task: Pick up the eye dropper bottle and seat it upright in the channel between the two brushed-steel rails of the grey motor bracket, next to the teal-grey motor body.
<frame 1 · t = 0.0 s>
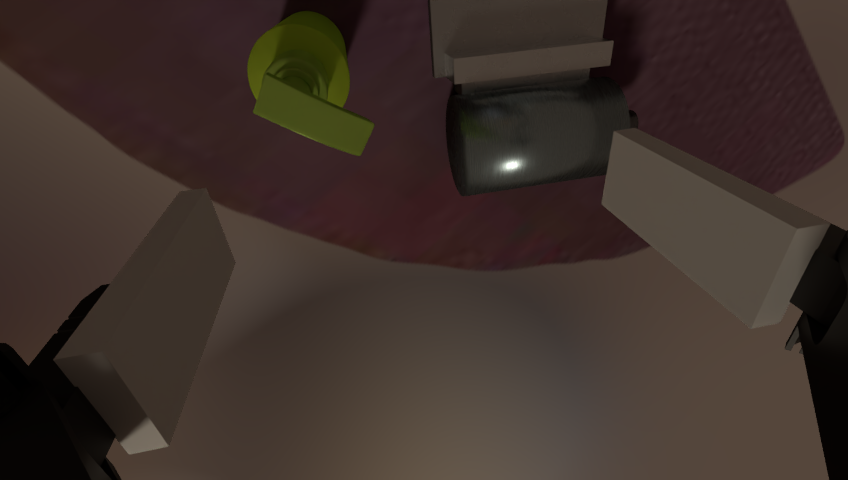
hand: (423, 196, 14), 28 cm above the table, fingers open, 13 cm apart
soap dispenser: (317, 52, 36), on the table
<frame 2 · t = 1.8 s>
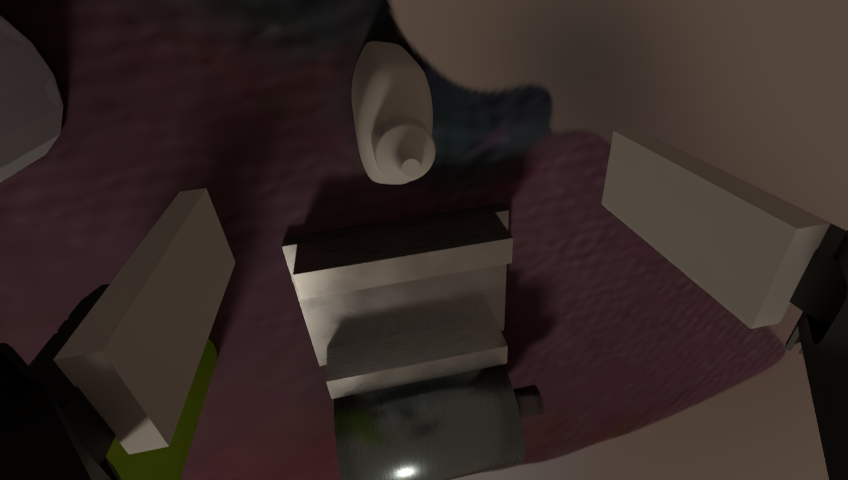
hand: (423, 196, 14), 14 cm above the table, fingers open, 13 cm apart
motor bracket: (405, 285, 33), on the table
soap dispenser: (184, 353, 33), on the table
eye dropper bottle: (380, 91, 25), on the table
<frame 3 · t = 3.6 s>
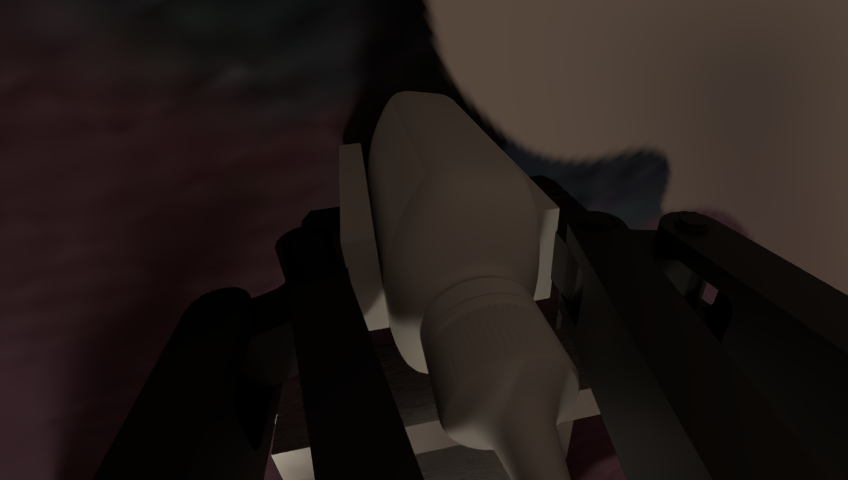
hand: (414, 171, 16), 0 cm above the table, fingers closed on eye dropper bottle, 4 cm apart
motor bracket: (436, 413, 24), on the table
eye dropper bottle: (412, 164, 16), on the table, touching gripper
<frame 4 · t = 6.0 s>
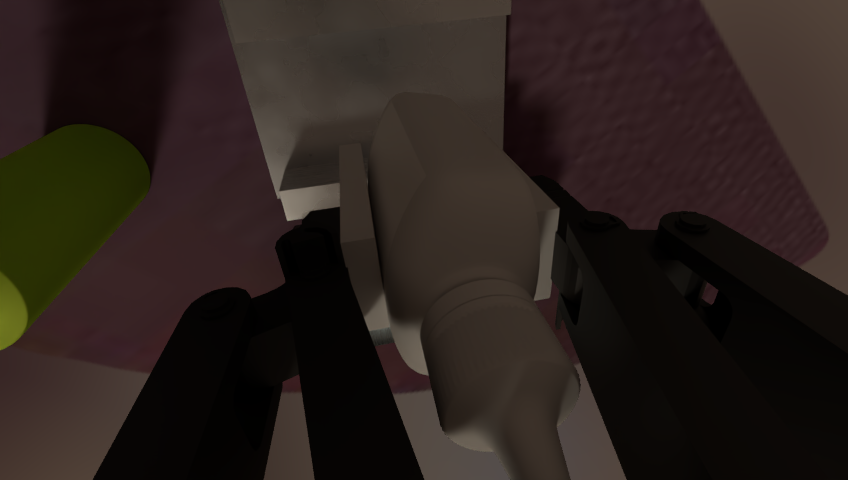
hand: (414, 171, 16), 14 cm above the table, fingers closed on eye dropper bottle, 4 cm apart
motor bracket: (380, 90, 27), on the table
soap dispenser: (109, 171, 27), on the table
eye dropper bottle: (412, 164, 16), point 13 cm above the table, touching gripper
when the fingers open (3 cm above the table, at t = 8.5 s): eye dropper bottle drops 1 cm, resting on motor bracket.
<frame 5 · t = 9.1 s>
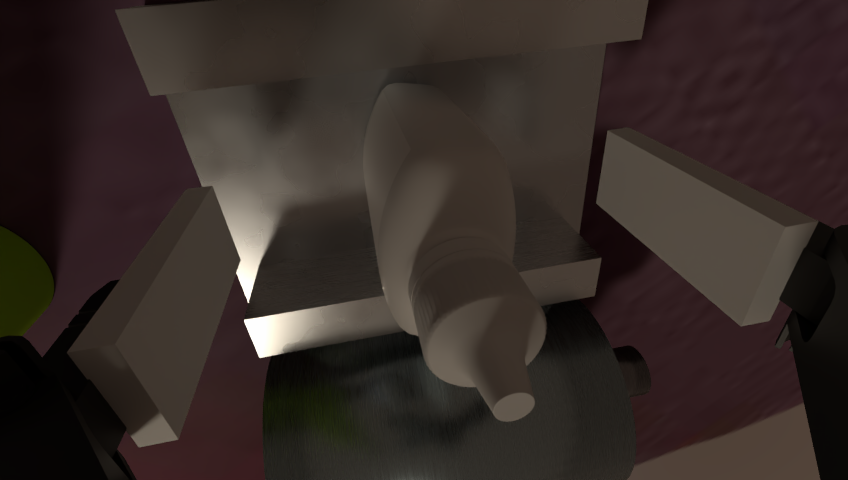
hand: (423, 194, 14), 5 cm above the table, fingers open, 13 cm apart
motor bracket: (404, 148, 18), on the table
eye dropper bottle: (404, 152, 17), point 1 cm above the table, touching motor bracket
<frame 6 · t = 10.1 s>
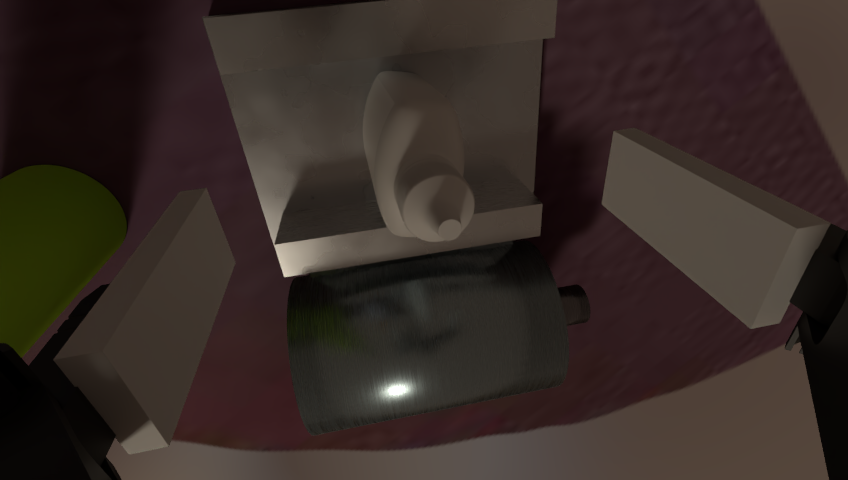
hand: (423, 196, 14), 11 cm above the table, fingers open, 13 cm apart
motor bracket: (394, 123, 23), on the table
soap dispenser: (78, 217, 23), on the table
eye dropper bottle: (394, 125, 22), point 1 cm above the table, touching motor bracket
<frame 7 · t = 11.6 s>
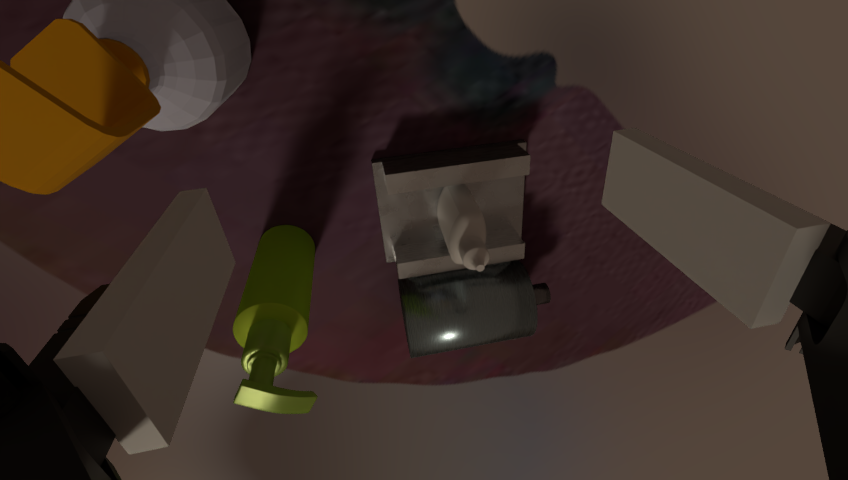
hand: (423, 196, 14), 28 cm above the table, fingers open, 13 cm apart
motor bracket: (451, 201, 46), on the table
soap dispenser: (292, 248, 46), on the table
soap bottle: (194, 42, 35), on the table
eye dropper bottle: (452, 204, 45), point 1 cm above the table, touching motor bracket
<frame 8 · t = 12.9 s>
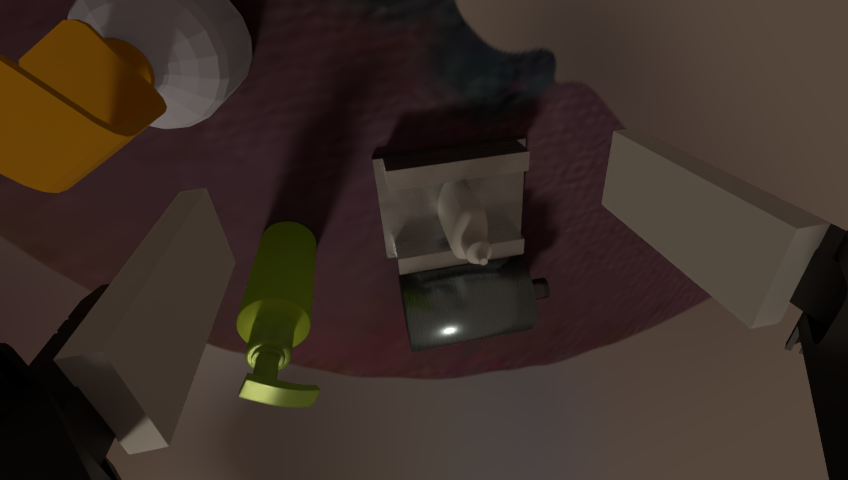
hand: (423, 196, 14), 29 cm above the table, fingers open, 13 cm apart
motor bracket: (451, 197, 47), on the table
soap dispenser: (293, 244, 46), on the table
soap bottle: (196, 40, 35), on the table
eye dropper bottle: (452, 199, 46), point 1 cm above the table, touching motor bracket
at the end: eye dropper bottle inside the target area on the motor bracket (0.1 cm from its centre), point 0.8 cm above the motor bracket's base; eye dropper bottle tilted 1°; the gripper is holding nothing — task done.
